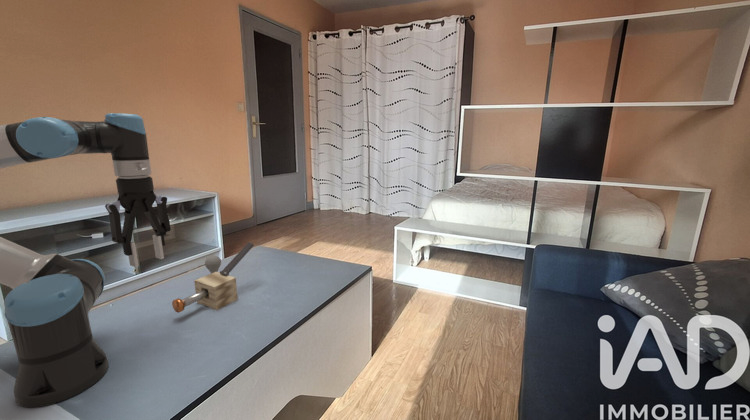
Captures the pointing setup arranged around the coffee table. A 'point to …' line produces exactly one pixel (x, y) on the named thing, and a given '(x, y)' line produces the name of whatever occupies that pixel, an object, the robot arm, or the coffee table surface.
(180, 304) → the pin
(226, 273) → the bar
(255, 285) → the coffee table surface
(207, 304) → the block
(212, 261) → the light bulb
